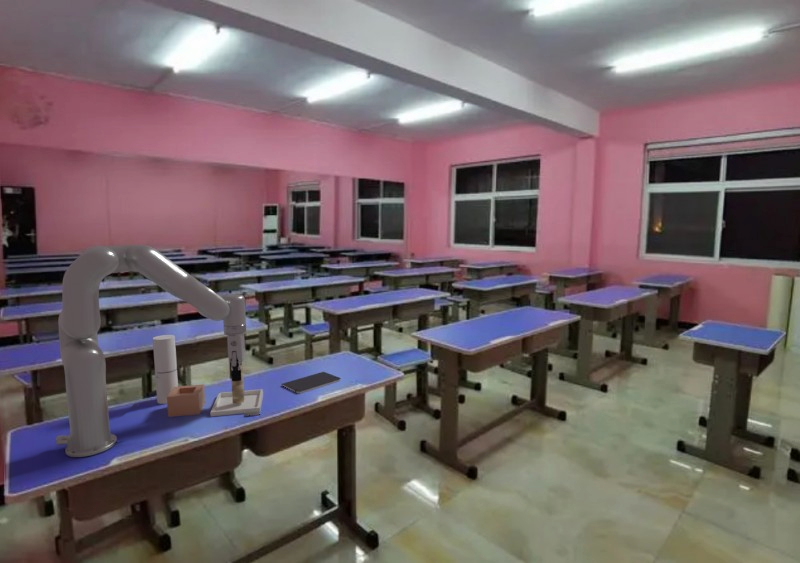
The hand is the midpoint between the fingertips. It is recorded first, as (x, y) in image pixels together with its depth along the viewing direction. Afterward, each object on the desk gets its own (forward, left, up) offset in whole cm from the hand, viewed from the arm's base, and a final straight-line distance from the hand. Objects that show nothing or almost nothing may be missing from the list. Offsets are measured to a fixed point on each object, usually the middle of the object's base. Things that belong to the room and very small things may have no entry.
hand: (237, 378), depth 158 cm
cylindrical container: (-26, +10, -11) cm, 30 cm away
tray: (0, 0, -11) cm, 11 cm away
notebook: (+27, +18, -12) cm, 35 cm away
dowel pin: (0, 0, -9) cm, 9 cm away
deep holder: (-17, -1, -11) cm, 20 cm away
